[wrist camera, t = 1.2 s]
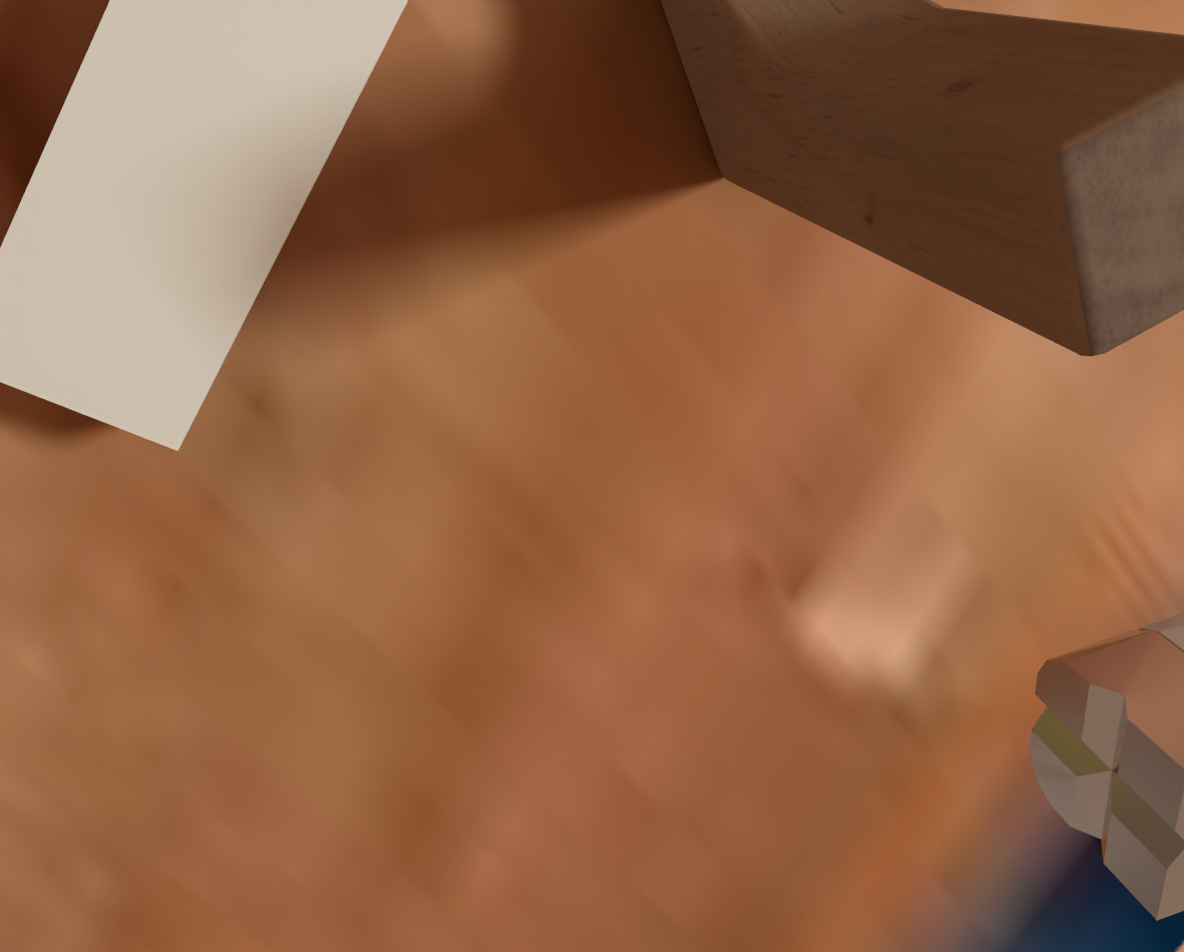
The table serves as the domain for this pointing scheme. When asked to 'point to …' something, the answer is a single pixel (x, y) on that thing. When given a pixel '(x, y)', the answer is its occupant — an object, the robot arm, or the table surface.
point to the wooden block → (961, 148)
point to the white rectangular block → (173, 197)
